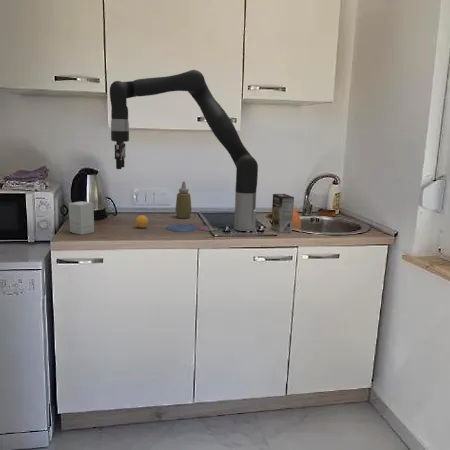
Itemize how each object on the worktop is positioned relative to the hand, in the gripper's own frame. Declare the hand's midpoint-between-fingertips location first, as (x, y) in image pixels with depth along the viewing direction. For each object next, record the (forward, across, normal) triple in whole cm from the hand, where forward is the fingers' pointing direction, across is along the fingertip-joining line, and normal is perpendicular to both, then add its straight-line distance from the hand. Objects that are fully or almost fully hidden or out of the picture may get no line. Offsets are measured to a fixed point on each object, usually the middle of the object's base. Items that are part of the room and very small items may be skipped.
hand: (120, 168), depth 206 cm
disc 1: (+26, 0, -27) cm, 38 cm away
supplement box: (+27, -10, +15) cm, 32 cm away
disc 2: (+26, 0, -39) cm, 47 cm away
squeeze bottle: (+26, +24, -27) cm, 45 cm away
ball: (+24, 0, -9) cm, 25 cm away
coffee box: (+26, -1, -72) cm, 77 cm away
